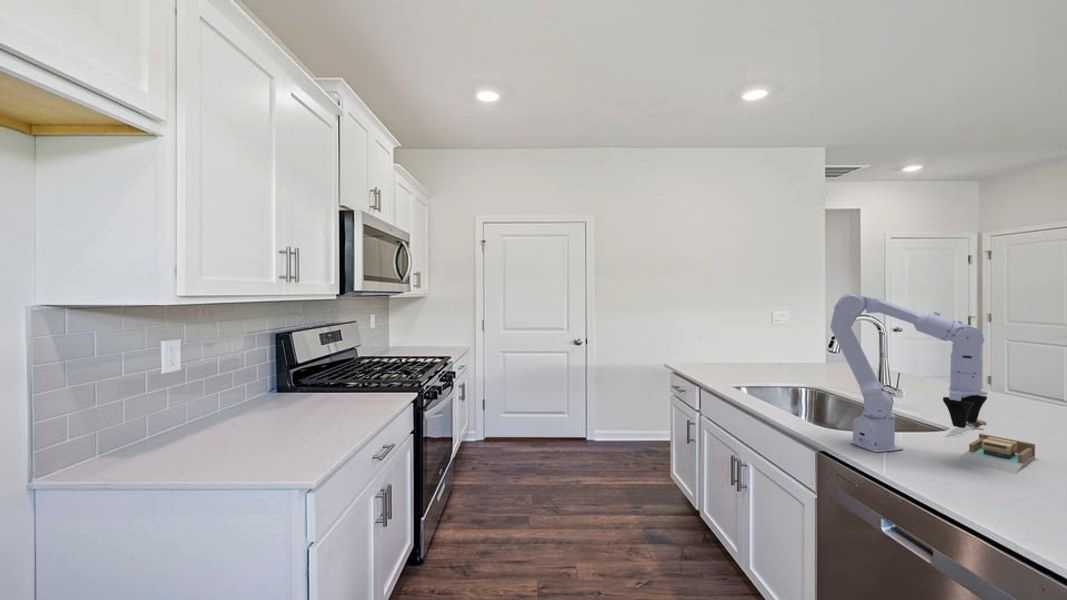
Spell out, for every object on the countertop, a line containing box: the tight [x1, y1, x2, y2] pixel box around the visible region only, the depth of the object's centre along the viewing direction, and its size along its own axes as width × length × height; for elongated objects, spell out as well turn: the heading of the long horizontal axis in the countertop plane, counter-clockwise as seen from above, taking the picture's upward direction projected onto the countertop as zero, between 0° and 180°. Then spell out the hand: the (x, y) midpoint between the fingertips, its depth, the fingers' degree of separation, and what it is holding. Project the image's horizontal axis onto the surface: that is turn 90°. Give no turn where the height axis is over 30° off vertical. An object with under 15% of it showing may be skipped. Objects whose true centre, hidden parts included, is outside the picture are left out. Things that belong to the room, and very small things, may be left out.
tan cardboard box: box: [982, 437, 1017, 459], centre depth 117 cm, size 6×5×3 cm
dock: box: [957, 433, 1036, 475], centre depth 116 cm, size 18×10×5 cm, turn 121°
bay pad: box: [975, 449, 1018, 462], centre depth 117 cm, size 7×8×1 cm
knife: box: [943, 418, 987, 438], centre depth 139 cm, size 27×2×5 cm
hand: (964, 424), depth 115 cm, fingers open, 7 cm apart
